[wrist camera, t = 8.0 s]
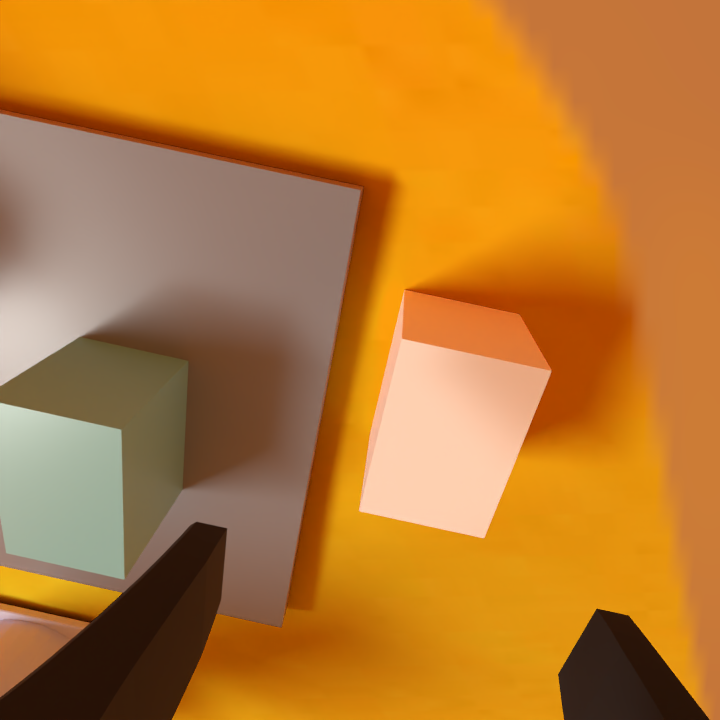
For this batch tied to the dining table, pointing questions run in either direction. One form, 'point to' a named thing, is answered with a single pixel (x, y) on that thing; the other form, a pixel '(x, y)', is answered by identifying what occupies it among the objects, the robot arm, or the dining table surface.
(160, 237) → the baseplate
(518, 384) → the cream brick
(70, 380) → the teal brick
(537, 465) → the dining table surface
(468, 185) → the dining table surface
